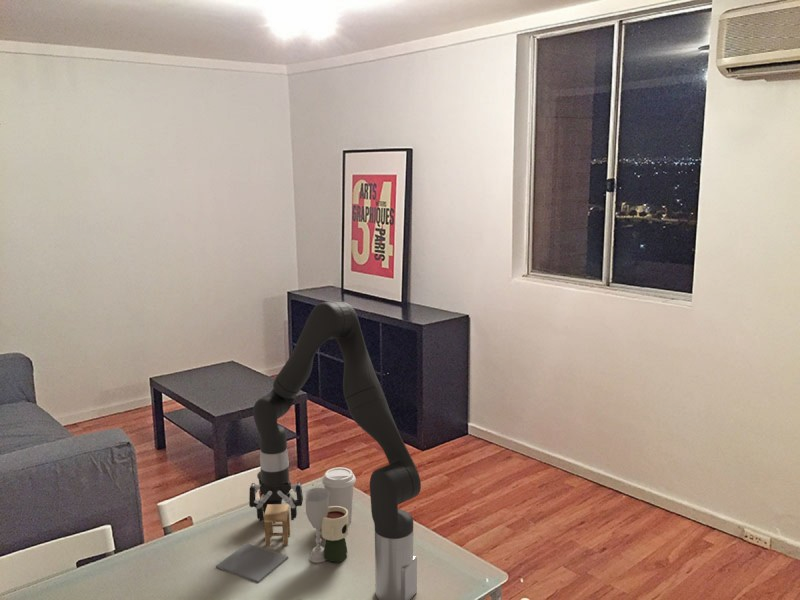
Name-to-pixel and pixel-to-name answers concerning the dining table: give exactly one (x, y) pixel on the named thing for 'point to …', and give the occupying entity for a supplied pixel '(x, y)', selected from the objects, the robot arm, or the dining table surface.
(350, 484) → the coffee cup
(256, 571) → the mat
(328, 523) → the character mug
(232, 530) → the dining table surface
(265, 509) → the drinking cup
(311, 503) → the chalice
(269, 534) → the light wood stool
